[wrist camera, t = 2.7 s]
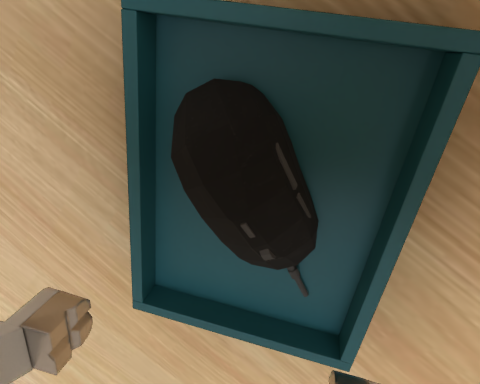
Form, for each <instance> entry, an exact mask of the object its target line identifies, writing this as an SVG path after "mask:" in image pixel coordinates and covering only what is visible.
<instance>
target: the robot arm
mask: <svg viewBox="0 0 480 384" xmlns="http://www.w3.org/2000/svg"><path fill="white" fill-rule="evenodd" d="M90 308H91V304H90V300H88V299H85V298H82V297H79V296H76V295H73V294H70V293H67V292H64V291H61V290H57V289H54V288H51V287H48V288H45V289H43V290H42V291H40V292H39V293H38V294H37V295H36V296H34V297H33V298H32V299H31V300H30V301H28V302H27V303H26V304H25V305H24V306H22V307H21V308H20V309H19V310H18V311H17V312H15V313H14V314H13V315H12V316H11V317H9V318H8V319H7V320H6V321H5V322H3V321H0V384H9V383H11V382H13V381H15V380H16V379H18V378H20V377H21V376H23V375H25V374H26V373H28V372H30V371H31V370H32V368H34V369H37V370H41V371H44V372H47V373H50V374H54V375H57V374H58V373H59V372H60V370H61V369H62V368H63V367H64V366H65V364H66V363H67V362H68V361H69V360H70V358H71V357H72V350H73V349H75V348H77V347H79V346H81V345H82V344H83V342H84V341H85V340H86V339H87V337H88V335H89V333H90V331H91V329H92V323H93V321H92V316H91V315H90V313H89V312H88V310H89V309H90ZM329 384H379V383H376V382H372V381H369V380H366V379H363V378H360V377H356V376H352V375H349V374H345V373H341V372H338V371H334V370H333V371H332V372H331V374H330V377H329Z"/></svg>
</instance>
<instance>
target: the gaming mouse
mask: <svg viewBox="0 0 480 384" xmlns="http://www.w3.org/2000/svg"><path fill="white" fill-rule="evenodd" d="M171 159H172V162H173V164H174V167H175V169H176V172H177V174H178V177H179V179H180V181H181V184H182V186H183V189H184V191H185V193H186V194H187V196H188V198H189V199H190V201H191V202H192V204H193V205H194V207H195V209H196V210H197V212H198V213H199V215H200V217H201V218H202V219H203V220H204V222H205V223H206V224H207V225H208V226H209V228H210V229H211V230H212V231H213V232H214V233H215V235H216V236H217V237H218V238H219V239H220V241H221V242H222V243H223V244H224V245H226V246H227V247H228V248H229V249H230V250H231V251H232V252H233V253H234V254H235V255H236V256H237V257H239V258H240V259H242V260H244V261H246V262H248V263H249V264H251V265H256V266H261V267H266V268H271V269H275V270H280V269H284V268H287V269H288V272H289V274H290V276H291V278H292V279H295V281H296V283H297V285H298V287H299V289H300V290H301V292H302V294H303V296H304V297H307V296H308V295H309V294H308V292H307V290H306V288H305V286H304V284H303V282H302V281H301V279H300V273H299V271H298V269H297V267H296V266H297V265H298V264H299V263H300V262H301V261H302V260H303V259H304V258H306V257H307V256H308V255H309V254H310V253H311V252H312V251H313V250H314V249H315V247H316V238H317V229H318V222H319V220H318V217H317V214H316V211H315V208H314V204H313V201H312V198H311V195H310V192H309V190H308V187H307V184H306V182H305V179H304V177H303V174H302V171H301V169H300V166H299V163H298V160H297V157H296V154H295V151H294V148H293V145H292V142H291V139H290V137H289V134H288V132H287V129H286V127H285V124H284V122H283V120H282V118H281V116H280V115H279V114H278V112H277V111H276V110H275V108H274V107H273V106H272V104H271V103H270V102H269V101H268V99H267V98H266V97H265V95H264V94H263V93H262V92H261V91H259V90H258V89H257V88H255V87H254V86H253V85H251V84H248V83H244V82H241V81H233V80H224V79H215V78H214V79H212V80H210V81H208V82H206V83H204V84H202V85H200V86H198V87H197V88H195V89H193V90H191V91H189V92H187V93H186V94H185V96H184V98H183V100H182V101H181V103H180V105H179V107H178V109H177V111H176V113H175V115H174V125H173V136H172V148H171Z"/></svg>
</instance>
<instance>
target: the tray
mask: <svg viewBox="0 0 480 384" xmlns="http://www.w3.org/2000/svg"><path fill="white" fill-rule="evenodd" d="M121 7H122V8H123V9H121V16H122V41H123V67H124V92H125V118H126V143H127V169H128V194H129V220H130V245H131V271H132V297H133V308H135V309H138V310H141V311H145V312H148V313H152V314H155V315H158V316H162V317H165V318H168V319H172V320H175V321H179V322H182V323H185V324H189V325H192V326H195V327H199V328H202V329H206V330H209V331H212V332H216V333H219V334H222V335H226V336H229V337H233V338H236V339H239V340H243V341H246V342H249V343H253V344H256V345H260V346H263V347H266V348H270V349H273V350H276V351H280V352H283V353H287V354H290V355H293V356H297V357H300V358H303V359H307V360H310V361H314V362H317V363H320V364H324V365H327V366H330V367H334V368H337V369H341V370H344V371H347V372H349V371H350V368H351V366H352V364H353V361H354V359H355V357H356V354H357V352H358V350H359V347H360V345H361V343H362V340H363V338H364V336H365V333H366V331H367V329H368V326H369V324H370V322H371V319H372V317H373V315H374V312H375V310H376V308H377V305H378V303H379V301H380V298H381V296H382V294H383V291H384V289H385V287H386V284H387V282H388V280H389V277H390V275H391V273H392V270H393V268H394V266H395V263H396V261H397V259H398V256H399V254H400V252H401V249H402V247H403V245H404V242H405V240H406V238H407V235H408V233H409V231H410V228H411V226H412V224H413V221H414V219H415V217H416V214H417V212H418V210H419V207H420V205H421V203H422V200H423V198H424V196H425V193H426V191H427V189H428V186H429V184H430V182H431V179H432V177H433V175H434V172H435V170H436V168H437V165H438V163H439V161H440V158H441V156H442V154H443V151H444V149H445V147H446V144H447V142H448V140H449V137H450V135H451V133H452V130H453V128H454V126H455V123H456V121H457V119H458V116H459V114H460V112H461V109H462V107H463V105H464V102H465V100H466V98H467V95H468V93H469V91H470V88H471V86H472V84H473V81H474V79H475V77H476V74H477V72H478V70H479V67H480V31H478V30H470V29H461V28H453V27H444V26H436V25H427V24H418V23H410V22H401V21H393V20H384V19H376V18H367V17H359V16H350V15H342V14H333V13H325V12H316V11H308V10H299V9H291V8H282V7H273V6H265V5H256V4H248V3H239V2H231V1H222V0H121ZM214 78H215V79H224V80H233V81H241V82H244V83H248V84H251V85H253V86H254V87H255V88H257V89H258V90H259V91H261V92H262V93H263V94H264V95H265V97H266V98H267V99H268V101H269V102H270V103H271V104H272V106H273V107H274V108H275V110H276V111H277V112H278V114H279V115H280V116H281V118H282V120H283V122H284V124H285V127H286V129H287V132H288V134H289V137H290V139H291V142H292V145H293V148H294V151H295V154H296V157H297V160H298V163H299V166H300V169H301V171H302V174H303V177H304V179H305V182H306V184H307V187H308V190H309V192H310V195H311V198H312V201H313V204H314V208H315V211H316V214H317V217H318V220H319V222H318V229H317V238H316V247H315V249H314V250H313V251H312V252H311V253H310V254H309V255H308V256H307V257H306V258H304V259H303V260H302V261H301V262H300V263H299V264H298V265H297V266H296V267H297V269H298V271H299V273H300V279H301V281H302V282H303V284H304V286H305V288H306V290H307V292H308V294H309V295H308V296H307V297H304V296H303V294H302V292H301V290H300V289H299V287H298V285H297V283H296V281H295V279H292V278H291V276H290V274H289V272H288V269H287V268H284V269H280V270H275V269H271V268H266V267H261V266H256V265H251V264H249V263H248V262H246V261H244V260H242V259H240V258H239V257H237V256H236V255H235V254H234V253H233V252H232V251H231V250H230V249H229V248H228V247H227V246H226V245H224V244H223V243H222V242H221V241H220V239H219V238H218V237H217V236H216V235H215V233H214V232H213V231H212V230H211V229H210V228H209V226H208V225H207V224H206V223H205V222H204V220H203V219H202V218H201V217H200V215H199V213H198V212H197V210H196V209H195V207H194V205H193V204H192V202H191V201H190V199H189V198H188V196H187V194H186V193H185V191H184V189H183V186H182V184H181V181H180V179H179V177H178V174H177V172H176V169H175V167H174V164H173V162H172V159H171V148H172V136H173V125H174V115H175V113H176V111H177V109H178V107H179V105H180V103H181V101H182V100H183V98H184V96H185V94H186V93H187V92H189V91H191V90H193V89H195V88H197V87H198V86H200V85H202V84H204V83H206V82H208V81H210V80H212V79H214Z"/></svg>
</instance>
